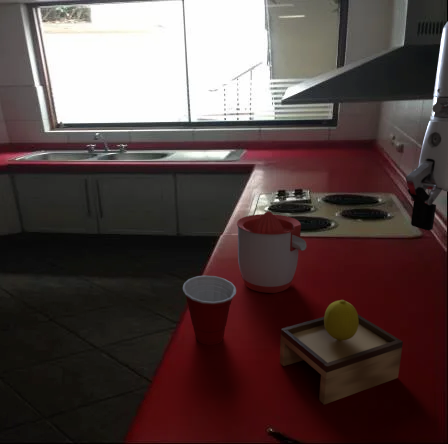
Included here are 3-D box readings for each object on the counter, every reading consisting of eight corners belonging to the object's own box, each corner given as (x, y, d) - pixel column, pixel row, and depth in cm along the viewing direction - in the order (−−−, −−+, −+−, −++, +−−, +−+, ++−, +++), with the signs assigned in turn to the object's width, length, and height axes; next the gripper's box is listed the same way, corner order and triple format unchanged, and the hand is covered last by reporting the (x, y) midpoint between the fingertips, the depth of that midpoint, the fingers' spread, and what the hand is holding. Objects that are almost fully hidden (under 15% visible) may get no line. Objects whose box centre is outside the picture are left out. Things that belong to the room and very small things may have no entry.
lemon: (327, 328, 78) (330, 290, 75) (359, 337, 75) (363, 297, 72) (318, 343, 74) (321, 303, 71) (352, 353, 70) (356, 311, 68)
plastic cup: (215, 360, 81) (215, 305, 77) (174, 340, 88) (171, 288, 84) (246, 335, 88) (246, 283, 84) (205, 318, 95) (204, 270, 92)
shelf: (346, 341, 84) (349, 309, 82) (398, 377, 73) (403, 341, 71) (279, 362, 79) (280, 328, 77) (324, 404, 68) (326, 366, 66)
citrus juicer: (291, 306, 98) (294, 225, 92) (225, 288, 109) (225, 215, 103) (313, 280, 110) (317, 208, 104) (252, 267, 120) (253, 200, 114)
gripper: (444, 114, 53) (425, 239, 59) (532, 105, 59) (508, 220, 64) (394, 112, 60) (381, 225, 65) (477, 104, 66) (459, 208, 71)
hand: (444, 222), depth 65 cm, fingers open, 9 cm apart
